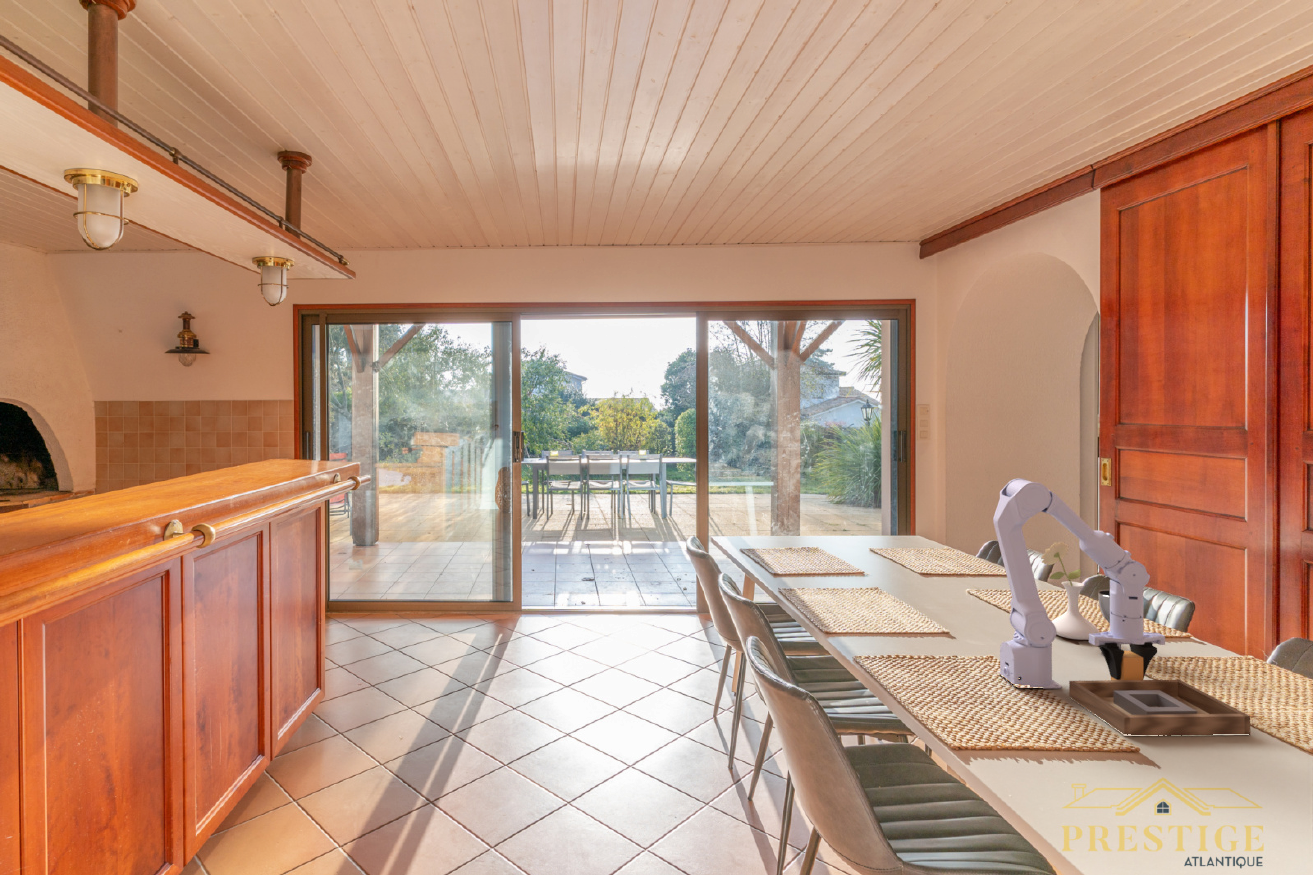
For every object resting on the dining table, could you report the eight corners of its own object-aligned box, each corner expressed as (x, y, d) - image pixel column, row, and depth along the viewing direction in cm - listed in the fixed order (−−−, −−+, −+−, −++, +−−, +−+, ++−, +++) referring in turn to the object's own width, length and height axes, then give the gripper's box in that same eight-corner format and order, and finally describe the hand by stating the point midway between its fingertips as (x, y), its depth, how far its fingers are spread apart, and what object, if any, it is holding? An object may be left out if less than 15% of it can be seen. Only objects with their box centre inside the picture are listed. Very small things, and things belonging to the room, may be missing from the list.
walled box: (1124, 736, 114) (1124, 717, 114) (1069, 697, 130) (1069, 680, 130) (1250, 735, 113) (1250, 716, 113) (1179, 696, 129) (1179, 679, 129)
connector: (1123, 690, 132) (1123, 657, 132) (1110, 683, 136) (1110, 650, 136) (1143, 690, 132) (1143, 657, 132) (1129, 682, 136) (1129, 650, 136)
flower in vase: (1083, 629, 170) (1083, 536, 169) (1110, 644, 159) (1109, 545, 158) (1032, 628, 171) (1031, 537, 171) (1055, 643, 160) (1054, 545, 159)
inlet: (1147, 724, 117) (1146, 711, 117) (1113, 703, 126) (1113, 690, 126) (1196, 724, 117) (1196, 710, 117) (1159, 702, 126) (1159, 690, 126)
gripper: (1104, 620, 130) (1104, 685, 130) (1176, 619, 130) (1176, 685, 130) (1082, 610, 137) (1082, 672, 137) (1150, 609, 137) (1151, 671, 137)
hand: (1126, 677), depth 134 cm, fingers open, 4 cm apart
